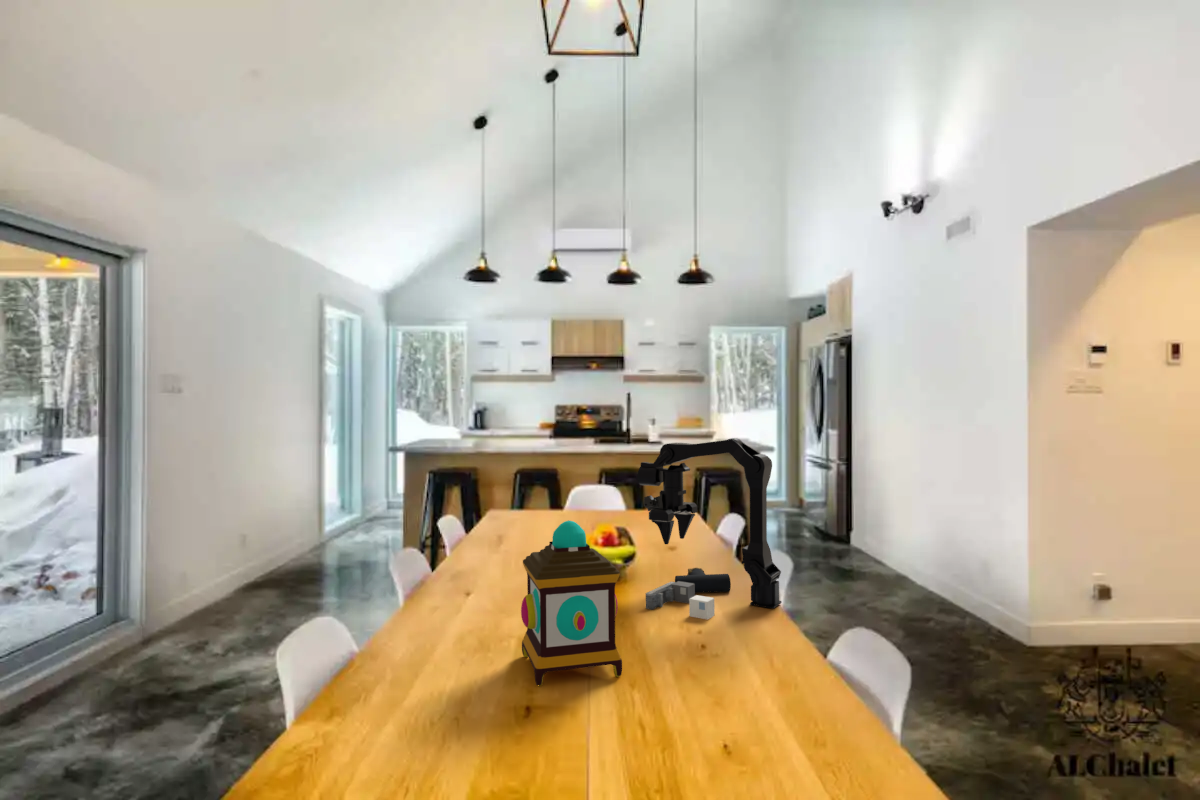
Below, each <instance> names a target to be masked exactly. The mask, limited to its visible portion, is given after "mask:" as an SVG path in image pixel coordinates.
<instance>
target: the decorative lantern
mask: <svg viewBox="0 0 1200 800" xmlns="http://www.w3.org/2000/svg"><path fill="white" fill-rule="evenodd" d="M522 566H523V568H524V570H525V572H526V575H527V576H526V579H527V594H526V595H525V596H524V597H523V600H522V602H521V608H520V615H521V621H522V623H523V625H524V626H525V627H526V628H527V629H526V632H525V634H524V636H523V637H522V638H523V639H522V641H521V653H522V656H523V657H524V658H528V659H529V661H530V663H531V666H532V667H533V672H534V680H535V684H536V686H537V685H539V686H538V687H541V686H542V685H543V684H544V683H543V682H544V675H545V674H546V673H549V672H557V671H565V670H566V671H567V670H575V669H584V668H590V667H591V668H594V667H600V666H601V667H602V666H611V665H612V667H613V674H614V676H615V677H616V678H619V677H621V675H622V673H623V672H622V671H623V660H622V657H621V654H620V652H619V650H618V648H617V645H616V617H617V614H618V598H617V595H616V585H617V582H618V580H619V577H620V575H621V573H620V570H618V569H617V567H616V566H615V565H614V564H612V563H611V561H609V560H608V559H607V558H606V557H604V556H603V555H602V554H601V553H599V552H598V551H597V550H596V549H594V548H591V547H590V545H589V544H588V543H587V536H586V532H585V530H584V529H583V528H582V527H581V525H579V524H578V523H577V522H575V521H573V520H565V521H563V522H562V523H561V524H559V525H558V526H557V528H556V529H555V530H554V531H553V533H552V541H549V545H548V544H547V545H545V546H544V548H542V549H540V551H533V552H531V553H530V555H527V556H526V557H525V559H522ZM540 685H541V686H540Z"/></svg>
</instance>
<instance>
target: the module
mask: <svg viewBox="0 0 1200 800" xmlns="http://www.w3.org/2000/svg"><path fill="white" fill-rule="evenodd" d="M688 604H689V605H688V607H689V610H688V611H689V612H688V613H689V617H692V618H696V619H702V620H709V619H711V618H713V617H714V616H715V597H712V596H711V597H710V596H704V595H697V594H695V596H694V597H692V598H690V599H689V603H688Z"/></svg>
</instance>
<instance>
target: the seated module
mask: <svg viewBox="0 0 1200 800" xmlns="http://www.w3.org/2000/svg"><path fill="white" fill-rule="evenodd" d="M672 588H674V601H673V602H677V603H684V604H689V599H690V598H692V597H694V596H696V593H695V584H694V583H687V582H681V581H678V582H676V583H673V584H672Z"/></svg>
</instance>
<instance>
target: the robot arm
mask: <svg viewBox="0 0 1200 800" xmlns="http://www.w3.org/2000/svg"><path fill="white" fill-rule="evenodd" d="M723 454H729V455H730V456H732V457H733V459H734V460H735V461H736V462H737V463H738V464H739V465H741V467H743V470H744V476H745V481H746V484H747V485H748V488H749V542H748V545H746V546H744V547H742V549H741V554H742V562H741V565H743V568H744V570H745V572H746V573H747V574H748V575H749V578H750V580H751V583H752V584H751V586H750V600H751V601H750V602H749V605H750V606H754V607H756V606H757V607H762V608H767V609H775V608H777V607H778V606H779V605H781V604H782V600H780V581H779V578H780V576H781V573H782V570H780V569H779V567H778V566H776V564H775V563H774V562H773V559H772V553H771V548H770V545H769V543H768V538H767V537H768V536H767V535H768V534H767V533H768V532H767V531H768V529H767V526H768V525H767V522H768V519H767V518H768V515H767V513H768V512H767V509H768V506H767V503H768V502H767V501H768V499H767V492H768V491H767V489H768V484H769V483H770V482H769V481H770V478H771V474H772V469H773V462H772V459H771V458H770V457H769V456H768V455H766V454H763V453H760V452H758V451H757V450H756V449H754V448H753V447H751V446H749V445H748V444H746V443H745V442H743V441H742V440H741V439H740V438H738V437H734V438H733V437H732V438H729V439H725V440H717V441H716V440H715V441H709V442H708V441H706V442H700V443H688V442H670V443H665V444H663V445H662V446H661V448H660V449H659V455H658V456H657V457H656V459H655V460H654V462H648V461H642V462H640V467H639V469H638V471H637V474H636V480H637V483H638V484H639V485H640V486H648V487H649V486H652V487H659V486H661V484H662V486H663V488H662V490H660V491H659V496H655V497H653V496H652V495H647V496H645V497H644V498H643V507H645V508H647V512H648V520H649V521H651V522H652V523H654V524H656V526H657V527H658V530H659V532H660V535H661V538H662V541H663V544H664V545H669V543H670V539H671V537H672V532H673V527H674V525H675V524H674V523H675V520H674V517H675V519H676V520H677V527H678V535H679V539H682V540H683V539H685V537H686V534H687V532H688V529H689V528H690V526H691V523H692V521H693V519H694V518H695V516H696V513H698V505H697V504H696V503H695V502H691V501H690V502H689V501H684V500H685V499H684V495H685V494H687V489H684V472H685V473H686V472H689V471H690V470H691V468H690V467H689V466H688V465H687V464H686V463H685V461H687V460H690V459H694V458H696V457H705V456H713V455H714V456H715V455H723ZM680 462H681V463H680ZM676 463H679V464H677V465H676ZM666 466H667V467H666ZM665 467H666V468H665ZM777 579H778V580H777Z"/></svg>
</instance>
